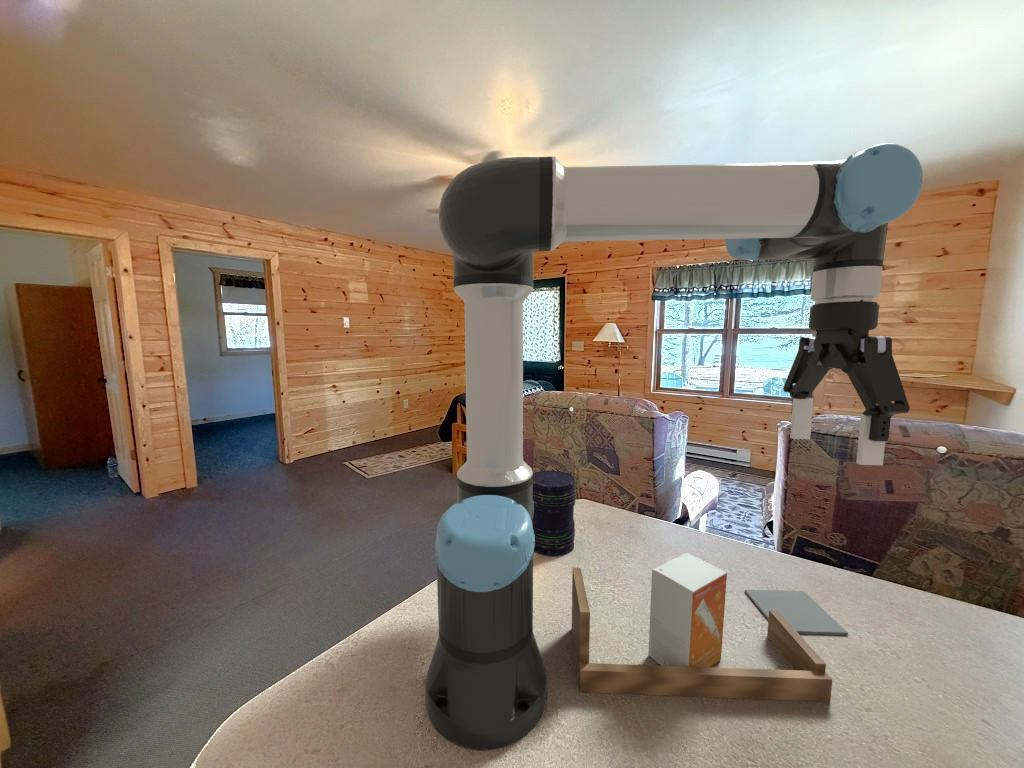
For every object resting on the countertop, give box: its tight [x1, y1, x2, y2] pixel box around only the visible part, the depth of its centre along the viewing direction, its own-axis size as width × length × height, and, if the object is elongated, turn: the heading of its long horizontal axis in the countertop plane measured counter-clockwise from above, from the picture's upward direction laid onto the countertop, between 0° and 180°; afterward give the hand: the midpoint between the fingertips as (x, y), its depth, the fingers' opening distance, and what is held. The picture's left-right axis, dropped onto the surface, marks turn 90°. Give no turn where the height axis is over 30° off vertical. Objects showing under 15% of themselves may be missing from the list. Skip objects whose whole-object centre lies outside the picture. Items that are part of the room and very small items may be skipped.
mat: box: [744, 589, 849, 636], centre depth 66 cm, size 10×10×1 cm
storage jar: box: [533, 469, 576, 558], centre depth 87 cm, size 10×10×15 cm
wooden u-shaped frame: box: [571, 567, 833, 703], centre depth 55 cm, size 30×11×10 cm, turn 87°
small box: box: [648, 552, 728, 667], centre depth 56 cm, size 8×6×13 cm
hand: (830, 450), depth 59 cm, fingers open, 13 cm apart
